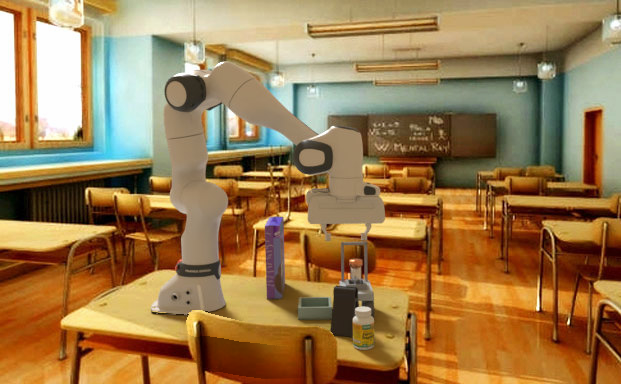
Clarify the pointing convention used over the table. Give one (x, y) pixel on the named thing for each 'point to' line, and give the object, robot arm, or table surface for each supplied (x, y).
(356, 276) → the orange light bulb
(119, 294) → the table surface
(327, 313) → the bin
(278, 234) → the cereal box
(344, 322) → the phone stand
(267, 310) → the table surface
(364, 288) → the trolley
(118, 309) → the table surface
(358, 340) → the supplement bottle
